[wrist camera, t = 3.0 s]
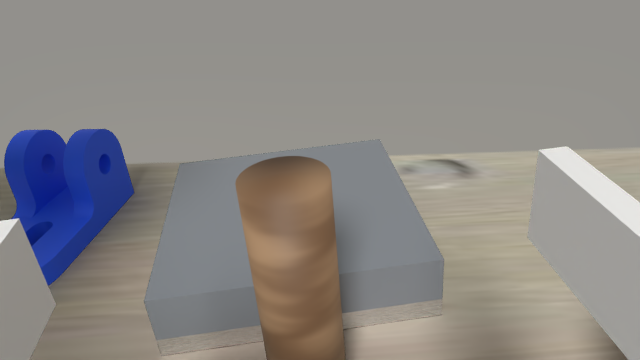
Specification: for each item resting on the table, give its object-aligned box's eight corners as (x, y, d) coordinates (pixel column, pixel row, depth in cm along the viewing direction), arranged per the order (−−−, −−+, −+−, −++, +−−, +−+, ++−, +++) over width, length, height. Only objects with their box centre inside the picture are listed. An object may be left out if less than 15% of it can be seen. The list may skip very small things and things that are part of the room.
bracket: (66, 193, 59) (39, 119, 55) (134, 193, 58) (112, 118, 53) (-56, 303, 43) (-107, 213, 39) (33, 308, 42) (-10, 214, 38)
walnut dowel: (278, 446, 30) (234, 208, 22) (275, 383, 33) (236, 162, 26) (355, 434, 30) (337, 195, 22) (343, 373, 34) (324, 151, 26)
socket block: (161, 355, 36) (144, 301, 34) (189, 206, 54) (179, 163, 51) (441, 314, 38) (444, 259, 35) (380, 182, 55) (379, 139, 53)
